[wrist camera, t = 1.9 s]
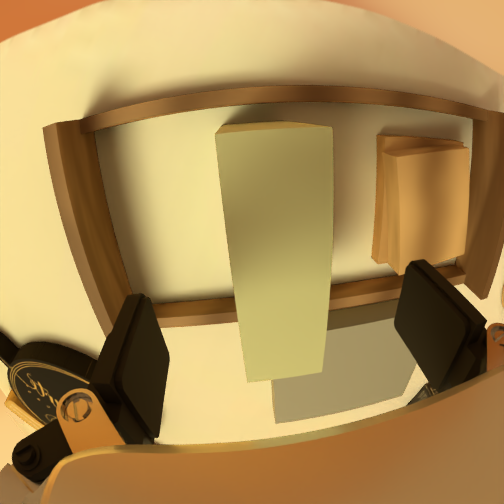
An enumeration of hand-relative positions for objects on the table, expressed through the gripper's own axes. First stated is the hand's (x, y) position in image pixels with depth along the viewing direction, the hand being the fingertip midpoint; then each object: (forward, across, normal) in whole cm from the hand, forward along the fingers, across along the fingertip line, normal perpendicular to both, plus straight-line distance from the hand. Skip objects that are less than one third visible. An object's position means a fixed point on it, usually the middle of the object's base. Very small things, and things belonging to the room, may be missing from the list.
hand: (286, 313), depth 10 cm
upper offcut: (+10, -13, 0) cm, 17 cm away
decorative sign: (+13, +27, +23) cm, 38 cm away
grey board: (+12, -8, +17) cm, 22 cm away
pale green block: (+12, 0, 0) cm, 12 cm away
